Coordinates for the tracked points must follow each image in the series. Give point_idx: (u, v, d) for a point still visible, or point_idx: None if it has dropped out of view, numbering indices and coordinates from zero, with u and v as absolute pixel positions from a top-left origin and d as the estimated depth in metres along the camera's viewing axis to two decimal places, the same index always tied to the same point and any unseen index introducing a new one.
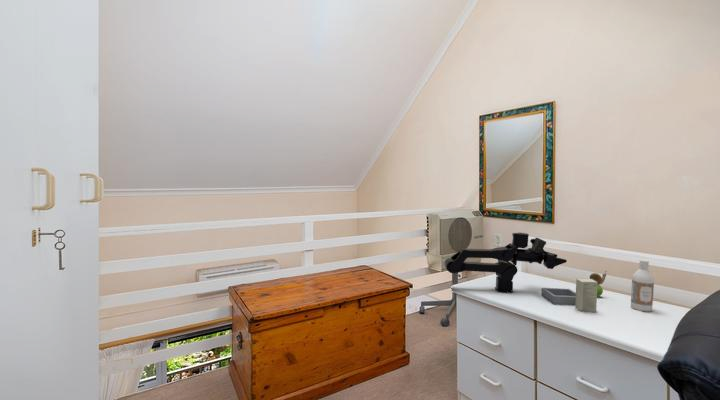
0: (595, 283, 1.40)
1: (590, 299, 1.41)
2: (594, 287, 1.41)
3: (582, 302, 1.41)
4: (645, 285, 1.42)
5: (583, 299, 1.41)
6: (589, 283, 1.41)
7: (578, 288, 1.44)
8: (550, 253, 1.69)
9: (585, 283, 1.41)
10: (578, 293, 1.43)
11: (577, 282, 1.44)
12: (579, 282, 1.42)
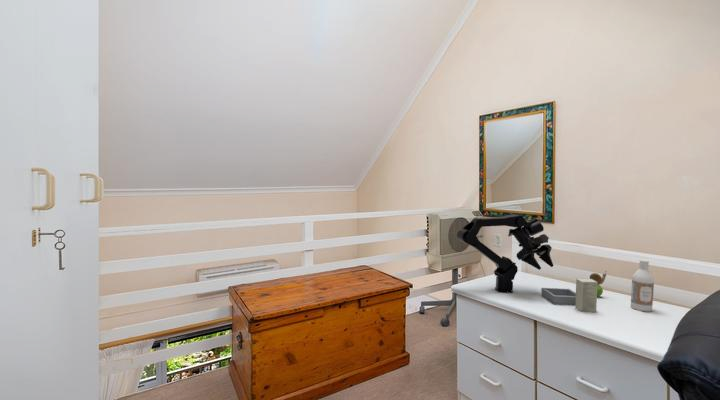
0: (595, 283, 1.40)
1: (590, 299, 1.41)
2: (594, 287, 1.41)
3: (582, 302, 1.41)
4: (645, 285, 1.42)
5: (583, 299, 1.41)
6: (589, 283, 1.41)
7: (578, 288, 1.44)
8: (549, 259, 1.60)
9: (585, 283, 1.41)
10: (578, 293, 1.43)
11: (577, 282, 1.44)
12: (579, 282, 1.42)
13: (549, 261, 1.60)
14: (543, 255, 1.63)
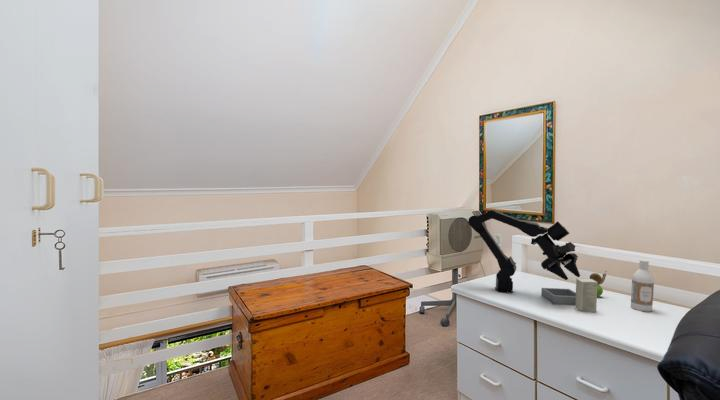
0: (595, 283, 1.40)
1: (590, 299, 1.41)
2: (594, 287, 1.41)
3: (582, 302, 1.41)
4: (645, 285, 1.42)
5: (583, 299, 1.41)
6: (589, 283, 1.41)
7: (578, 288, 1.44)
8: (575, 269, 1.51)
9: (585, 283, 1.41)
10: (578, 293, 1.43)
11: (577, 282, 1.44)
12: (579, 282, 1.42)
13: (575, 271, 1.51)
14: (568, 264, 1.54)
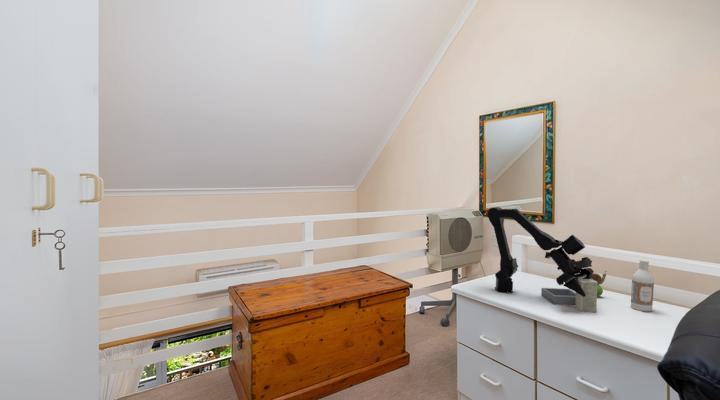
0: (595, 283, 1.40)
1: (590, 299, 1.41)
2: (594, 287, 1.41)
3: (582, 302, 1.41)
4: (645, 285, 1.42)
5: (583, 299, 1.41)
6: (589, 283, 1.41)
7: None
8: None
9: (585, 283, 1.41)
10: None
11: None
12: (579, 282, 1.42)
13: None
14: None
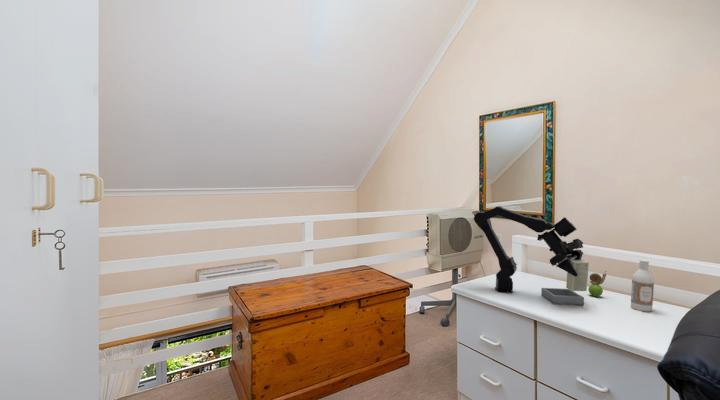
0: (586, 263, 1.45)
1: (581, 279, 1.45)
2: (585, 267, 1.45)
3: (574, 282, 1.46)
4: (645, 285, 1.42)
5: (574, 279, 1.45)
6: (581, 263, 1.45)
7: None
8: None
9: (577, 263, 1.45)
10: (570, 274, 1.47)
11: None
12: (571, 263, 1.46)
13: None
14: None
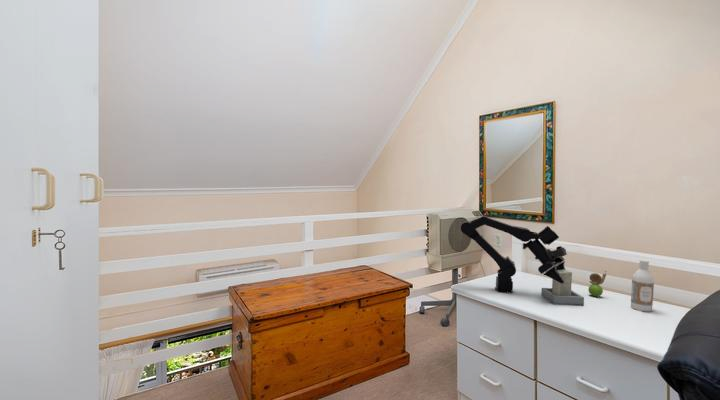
0: (570, 273, 1.52)
1: (566, 288, 1.52)
2: (569, 277, 1.52)
3: (560, 292, 1.52)
4: (645, 285, 1.42)
5: (560, 288, 1.52)
6: (565, 273, 1.52)
7: None
8: None
9: (562, 274, 1.52)
10: (555, 283, 1.54)
11: None
12: None
13: None
14: (557, 267, 1.60)
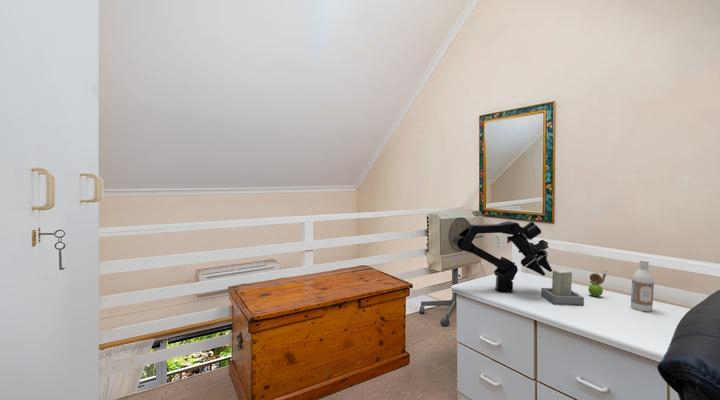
0: (570, 273, 1.52)
1: (566, 288, 1.52)
2: (569, 277, 1.52)
3: (560, 292, 1.52)
4: (645, 285, 1.42)
5: (560, 288, 1.52)
6: (565, 273, 1.52)
7: (555, 279, 1.54)
8: (547, 264, 1.62)
9: (562, 274, 1.52)
10: (555, 283, 1.54)
11: (554, 273, 1.54)
12: (556, 273, 1.53)
13: (547, 266, 1.63)
14: (540, 260, 1.65)
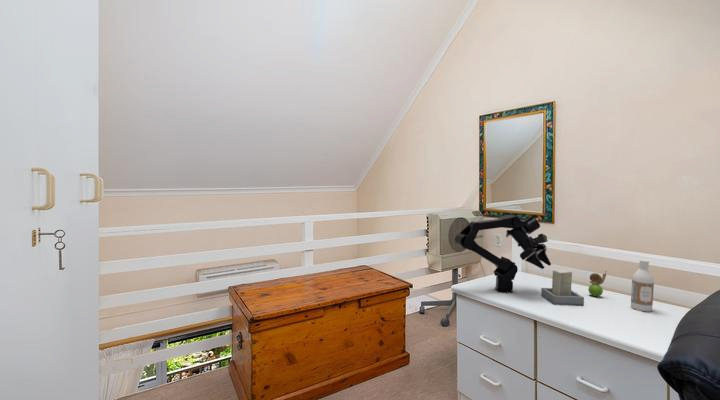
0: (570, 273, 1.52)
1: (566, 288, 1.52)
2: (569, 277, 1.52)
3: (560, 292, 1.52)
4: (645, 285, 1.42)
5: (560, 288, 1.52)
6: (565, 273, 1.52)
7: (555, 279, 1.54)
8: (546, 258, 1.63)
9: (562, 274, 1.52)
10: (555, 283, 1.54)
11: (554, 273, 1.54)
12: (556, 273, 1.53)
13: (546, 260, 1.63)
14: (539, 254, 1.65)
